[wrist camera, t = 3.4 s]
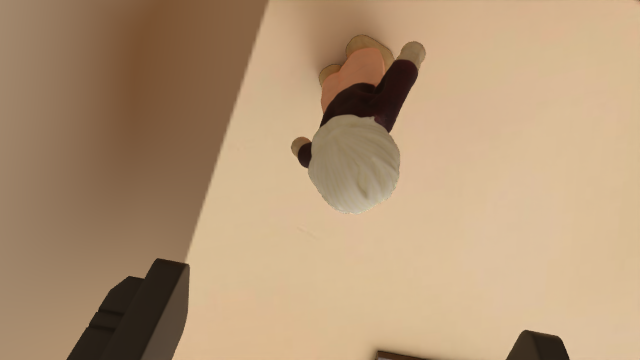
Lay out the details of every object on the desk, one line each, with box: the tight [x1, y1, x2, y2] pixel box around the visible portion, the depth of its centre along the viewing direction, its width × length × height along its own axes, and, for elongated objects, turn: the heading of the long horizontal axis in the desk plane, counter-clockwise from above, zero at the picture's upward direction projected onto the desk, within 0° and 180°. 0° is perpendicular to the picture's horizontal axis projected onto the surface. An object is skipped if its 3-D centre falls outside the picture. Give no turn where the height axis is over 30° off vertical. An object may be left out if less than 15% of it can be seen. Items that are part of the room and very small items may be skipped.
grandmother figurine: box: [291, 35, 426, 214], centre depth 23 cm, size 8×4×13 cm, turn 147°
